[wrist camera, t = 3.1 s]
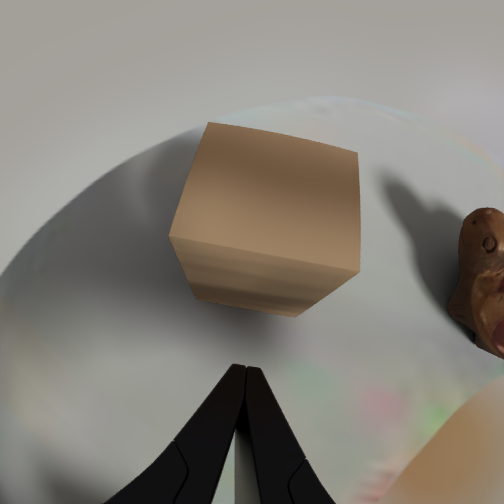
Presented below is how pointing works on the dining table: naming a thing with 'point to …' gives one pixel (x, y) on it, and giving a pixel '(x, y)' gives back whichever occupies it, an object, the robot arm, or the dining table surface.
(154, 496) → the robot arm
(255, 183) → the walnut block
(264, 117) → the dining table surface
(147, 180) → the dining table surface
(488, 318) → the decorative turtle
